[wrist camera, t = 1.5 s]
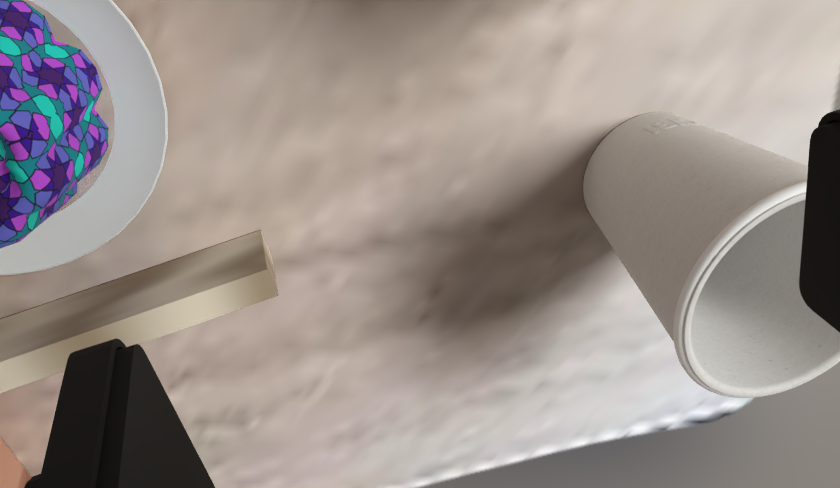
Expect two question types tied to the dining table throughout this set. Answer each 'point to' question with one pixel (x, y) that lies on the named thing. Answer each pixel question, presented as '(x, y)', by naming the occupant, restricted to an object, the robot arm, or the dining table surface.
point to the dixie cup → (713, 250)
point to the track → (136, 307)
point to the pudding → (72, 131)
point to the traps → (11, 469)
